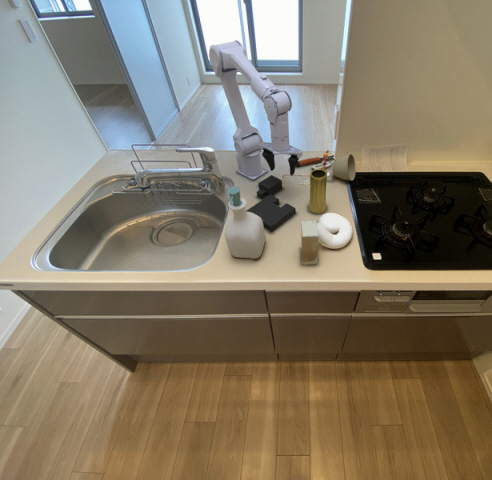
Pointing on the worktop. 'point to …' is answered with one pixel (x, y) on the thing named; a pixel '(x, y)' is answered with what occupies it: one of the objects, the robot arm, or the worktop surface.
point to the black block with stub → (269, 186)
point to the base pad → (272, 212)
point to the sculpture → (334, 230)
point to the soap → (319, 166)
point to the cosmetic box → (309, 241)
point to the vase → (318, 191)
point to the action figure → (325, 161)
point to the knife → (310, 161)
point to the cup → (344, 167)
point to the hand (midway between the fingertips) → (282, 171)
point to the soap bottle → (243, 229)
